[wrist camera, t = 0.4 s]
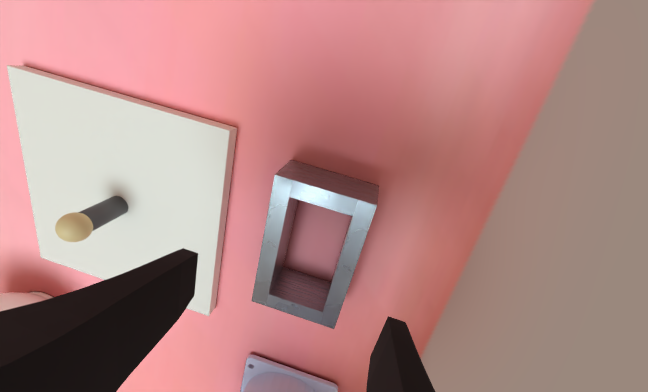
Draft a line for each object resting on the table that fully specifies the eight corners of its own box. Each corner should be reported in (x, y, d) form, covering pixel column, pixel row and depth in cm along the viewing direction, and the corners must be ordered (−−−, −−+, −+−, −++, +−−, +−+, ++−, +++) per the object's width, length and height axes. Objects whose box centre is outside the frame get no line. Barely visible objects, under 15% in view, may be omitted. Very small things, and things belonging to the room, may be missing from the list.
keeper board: (215, 307, 25) (174, 363, 20) (52, 251, 26) (-23, 291, 22) (237, 127, 19) (185, 147, 14) (24, 65, 20) (-90, 64, 15)
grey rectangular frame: (340, 297, 22) (334, 329, 20) (268, 273, 23) (251, 300, 20) (378, 185, 19) (376, 205, 16) (291, 159, 19) (274, 174, 16)
